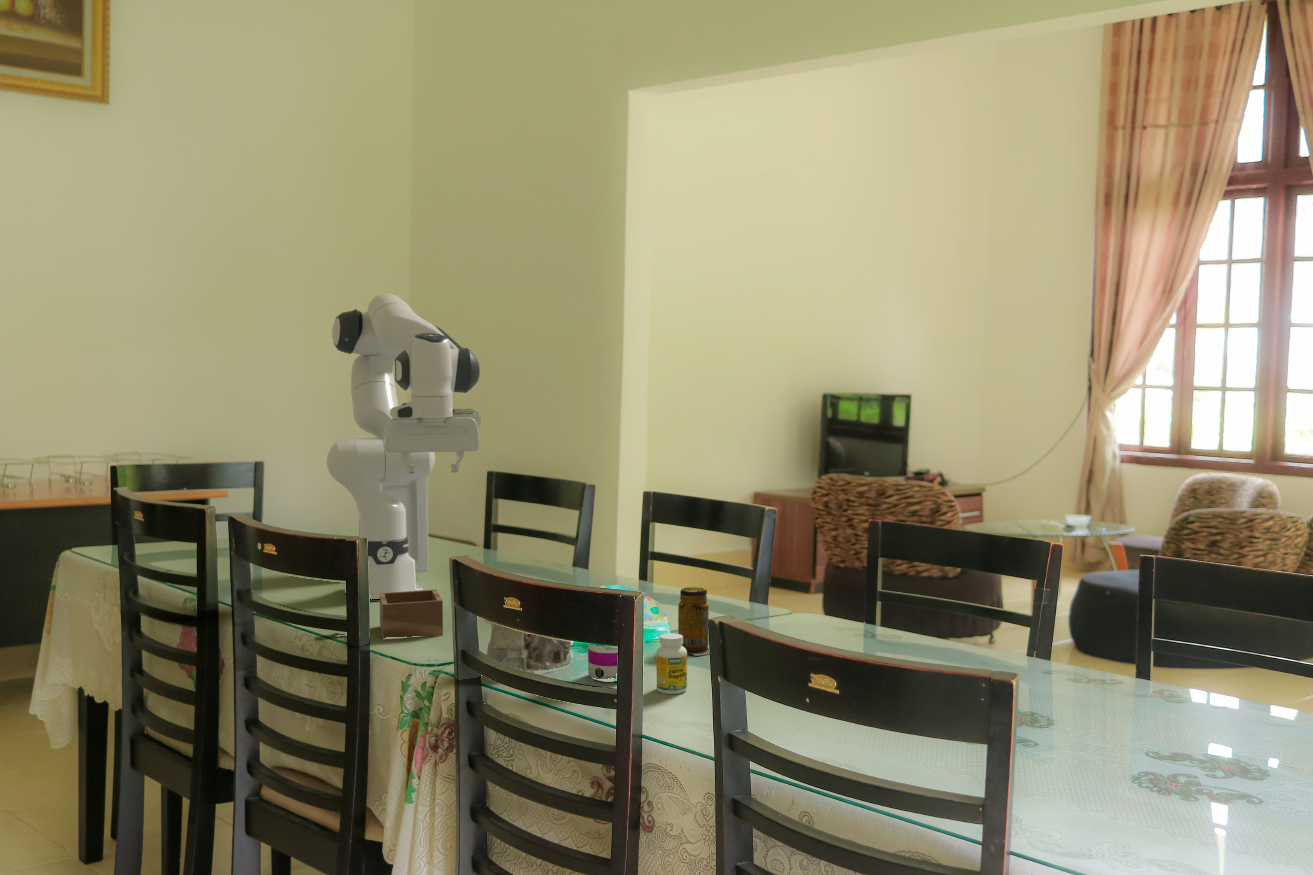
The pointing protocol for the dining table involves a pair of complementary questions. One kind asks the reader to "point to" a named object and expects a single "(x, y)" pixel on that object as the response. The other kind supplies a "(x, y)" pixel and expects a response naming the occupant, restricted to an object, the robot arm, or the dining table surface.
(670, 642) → the supplement bottle
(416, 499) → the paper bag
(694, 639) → the condiment
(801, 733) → the dining table surface
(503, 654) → the ceramic cottage
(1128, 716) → the dining table surface
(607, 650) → the supplement can
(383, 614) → the box
